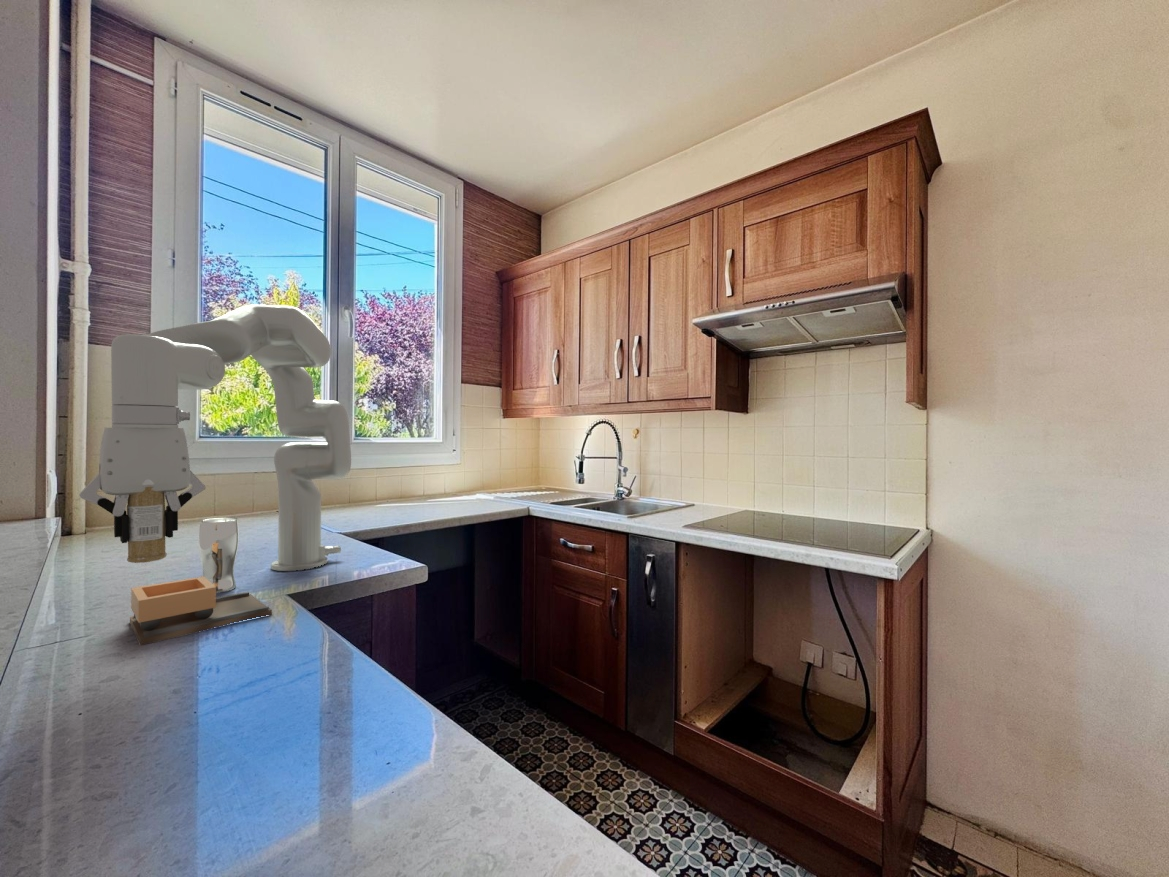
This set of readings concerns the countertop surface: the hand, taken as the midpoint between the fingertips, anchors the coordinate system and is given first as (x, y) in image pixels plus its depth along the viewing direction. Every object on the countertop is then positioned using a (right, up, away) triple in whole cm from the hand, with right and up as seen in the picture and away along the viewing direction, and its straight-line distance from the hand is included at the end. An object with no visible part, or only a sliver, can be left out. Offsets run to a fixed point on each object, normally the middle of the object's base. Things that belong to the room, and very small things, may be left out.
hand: (146, 537), depth 75 cm
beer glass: (-12, -18, +31) cm, 37 cm away
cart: (-5, -16, +11) cm, 20 cm away
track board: (-2, -17, +13) cm, 22 cm away
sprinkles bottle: (0, -4, 0) cm, 4 cm away
